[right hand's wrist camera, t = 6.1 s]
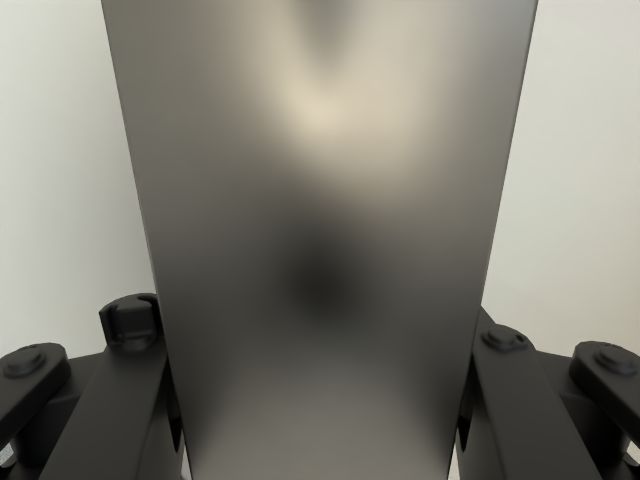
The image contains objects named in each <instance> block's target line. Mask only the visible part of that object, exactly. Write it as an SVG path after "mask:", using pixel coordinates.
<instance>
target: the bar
mask: <svg viewBox="0 0 640 480" xmlns="http://www.w3.org/2000/svg"><path fill="white" fill-rule="evenodd" d="M101 3H102V8H103V14H104V19H105V24H106V30H107V35H108V40H109V45H110V51H111V56H112V61H113V66H114V72H115V77H116V82H117V88H118V93H119V98H120V103H121V109H122V114H123V119H124V125H125V130H126V135H127V140H128V146H129V151H130V156H131V162H132V167H133V172H134V177H135V183H136V188H137V193H138V198H139V204H140V209H141V214H142V220H143V225H144V230H145V235H146V241H147V246H148V251H149V257H150V262H151V267H152V272H153V278H154V283H155V288H156V293H157V299H158V304H159V309H160V315H161V320H162V325H163V330H164V336H165V341H166V346H167V352H168V357H169V362H170V367H171V373H172V378H173V383H174V388H175V394H176V399H177V404H178V410H179V415H180V420H181V425H182V431H183V436H184V441H185V447H186V452H187V457H188V462H189V468H190V473H191V478H192V480H448V476H449V470H450V465H451V460H452V455H453V449H454V444H455V439H456V433H457V428H458V423H459V418H460V412H461V407H462V402H463V396H464V391H465V386H466V381H467V375H468V370H469V365H470V359H471V354H472V349H473V344H474V338H475V333H476V328H477V322H478V317H479V312H480V307H481V301H482V296H483V291H484V285H485V280H486V275H487V270H488V264H489V259H490V254H491V248H492V243H493V238H494V232H495V227H496V222H497V217H498V211H499V206H500V201H501V195H502V190H503V185H504V180H505V174H506V169H507V164H508V158H509V153H510V148H511V143H512V137H513V132H514V127H515V121H516V116H517V111H518V106H519V100H520V95H521V90H522V84H523V79H524V74H525V69H526V63H527V58H528V53H529V47H530V42H531V37H532V32H533V26H534V21H535V16H536V10H537V5H538V0H101Z"/></svg>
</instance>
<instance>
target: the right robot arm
mask: <svg viewBox="0 0 640 480" xmlns="http://www.w3.org/2000/svg"><path fill="white" fill-rule="evenodd" d="M99 316H100V319H101V323H102V327H103V331H104V335H105V339H106V342H107V346H106V348H105V350H104V352H101V353H98V354H93V355H88V356H83V357H78V358H73V359H68V357H67V354H66V351H65V348H64V347H62V346H61V345H60V344H56V343H42V344H33V345H29V346H25V347H22V348H20V349H18V350H16V351H14V352H12V353H10V354H7V355H5V356H4V357H2V358H1V359H0V452H1V450H2V449H3V448H4V447H5V446H6V445H7V444H8V443H9V442H10V445H11V447H12V449H13V452H14V453H13V455H12V456H11V457H10V458H9V459H8V460H7V461H6V462H5V463H3V464H2V465H1V466H0V480H183V479H182V478H181V477H180V475H181V468H182V460H183V453H184V445H185V441H184V436H183V431H182V425H181V420H180V415H179V410H178V404H177V399H176V394H175V388H174V383H173V378H172V373H171V367H170V362H169V357H168V352H167V346H166V341H165V336H164V330H163V325H162V320H161V315H160V309H159V304H158V299H157V294H153V293H139V294H134V295H129V296H125V297H122V298H120V299H117V300H114V301H113V302H111V303H109V304H107V305H106V306H104V307H103V308H102V309H101V310H100V311H99ZM631 441H632V442H633V443H634V444H635V445H636V446H637V447H638V448H639V449H640V357H639V356H638V355H636V354H635V353H633V352H630V351H628V350H626V349H623V348H622V347H620V346H617V345H614V344H613V345H612V344H610V343H606V342H596V341H587V342H581V343H579V344H578V345H577V346H576V347H575V350H574V353H573V356H572V358H571V357H566V356H560V355H555V354H550V353H545V352H541V351H537V350H536V349H535V347H534V345H533V344H532V343H531V341H530V340H529V339H528V338H527V337H526V336H524V335H523V334H521V333H520V332H518V331H517V330H514V329H512V328H510V327H507V326H504V325H499V324H496V323H495V322H494V321H493V320H492V318H491V317H490V316H489V315H488V314H487V312H486V311H485V310H484V309H483V307H482V306H481V307H480V312H479V317H478V322H477V328H476V333H475V338H474V344H473V349H472V354H471V359H470V365H469V370H468V375H467V381H466V386H465V391H464V396H463V402H462V407H461V412H460V418H459V423H458V428H457V433H456V439H455V444H456V452H457V459H458V467H459V474H460V480H640V464H638V463H637V462H636V461H635V460H634V459H633V458H632V457H631V456H630V455H629V454H628V453H627V452H626V451H627V448H628V446H629V444H630V442H631Z"/></svg>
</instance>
